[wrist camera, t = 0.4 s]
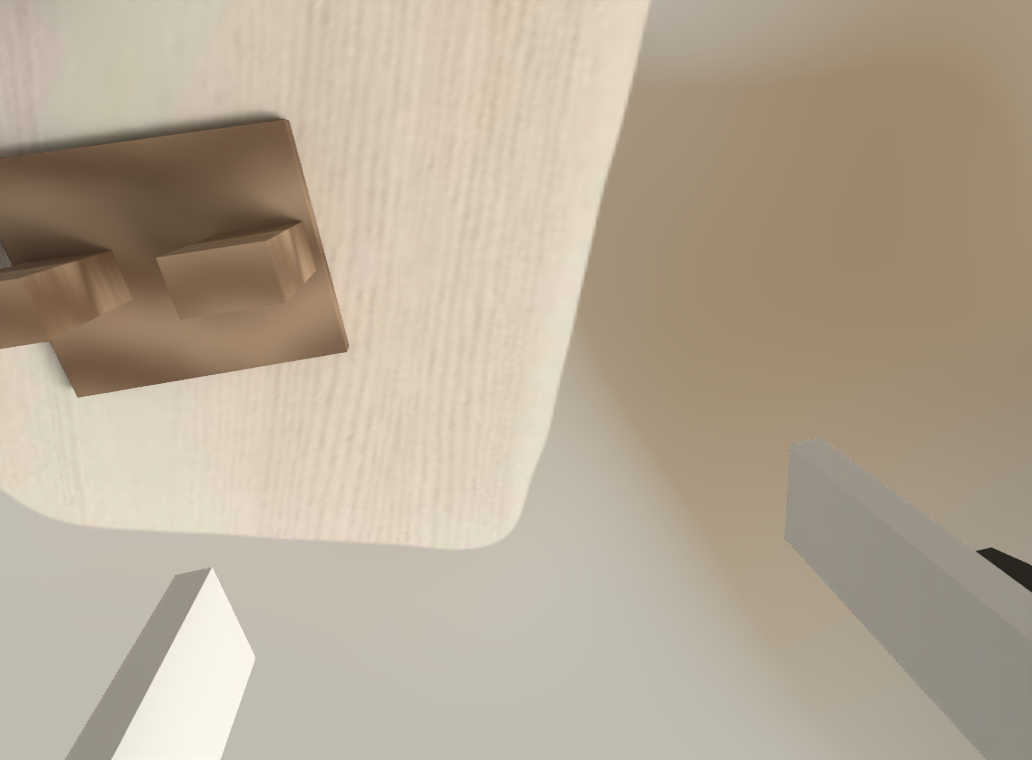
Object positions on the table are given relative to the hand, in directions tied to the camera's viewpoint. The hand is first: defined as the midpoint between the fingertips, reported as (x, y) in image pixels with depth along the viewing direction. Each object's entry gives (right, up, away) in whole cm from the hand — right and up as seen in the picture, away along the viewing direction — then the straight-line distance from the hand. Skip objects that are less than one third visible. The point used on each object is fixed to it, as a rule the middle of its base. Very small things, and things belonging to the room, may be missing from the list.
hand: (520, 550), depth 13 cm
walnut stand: (-21, +11, +22) cm, 32 cm away
